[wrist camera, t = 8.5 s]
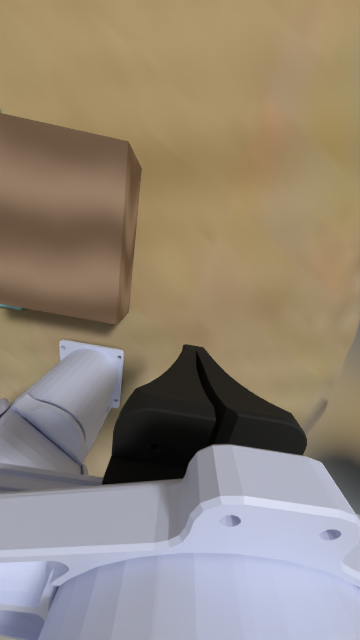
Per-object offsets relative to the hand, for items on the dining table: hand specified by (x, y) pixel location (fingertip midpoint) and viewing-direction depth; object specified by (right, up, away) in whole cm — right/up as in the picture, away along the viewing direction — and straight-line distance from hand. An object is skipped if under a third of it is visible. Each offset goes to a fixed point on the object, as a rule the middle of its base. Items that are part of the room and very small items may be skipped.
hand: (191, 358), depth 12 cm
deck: (-11, +11, +6) cm, 17 cm away
